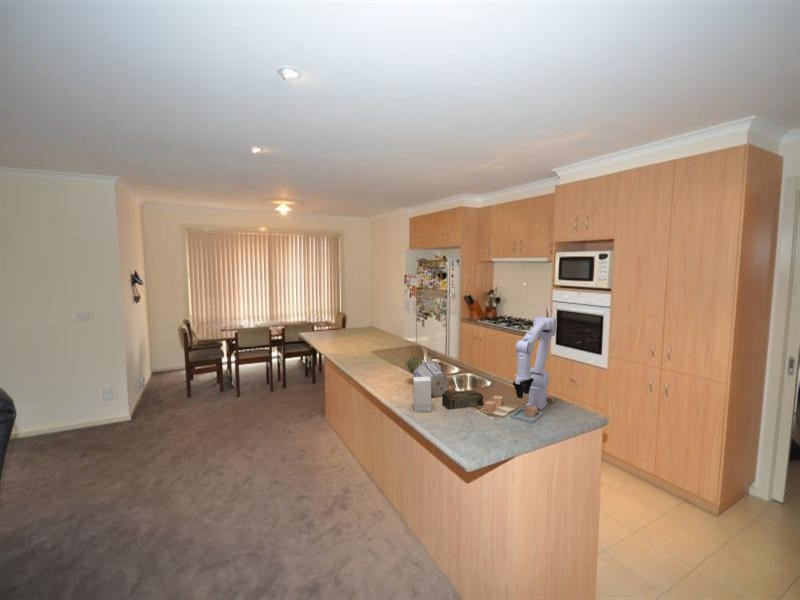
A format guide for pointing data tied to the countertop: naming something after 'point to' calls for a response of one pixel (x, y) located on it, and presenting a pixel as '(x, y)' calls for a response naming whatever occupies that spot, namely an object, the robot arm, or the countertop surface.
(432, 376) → the potted plant
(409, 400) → the countertop surface
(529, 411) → the chunk
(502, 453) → the countertop surface
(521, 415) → the slate dish
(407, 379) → the countertop surface
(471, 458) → the countertop surface
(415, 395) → the skincare box
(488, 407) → the chunk
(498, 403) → the chunk
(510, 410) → the birch tray
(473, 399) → the beverage carton
